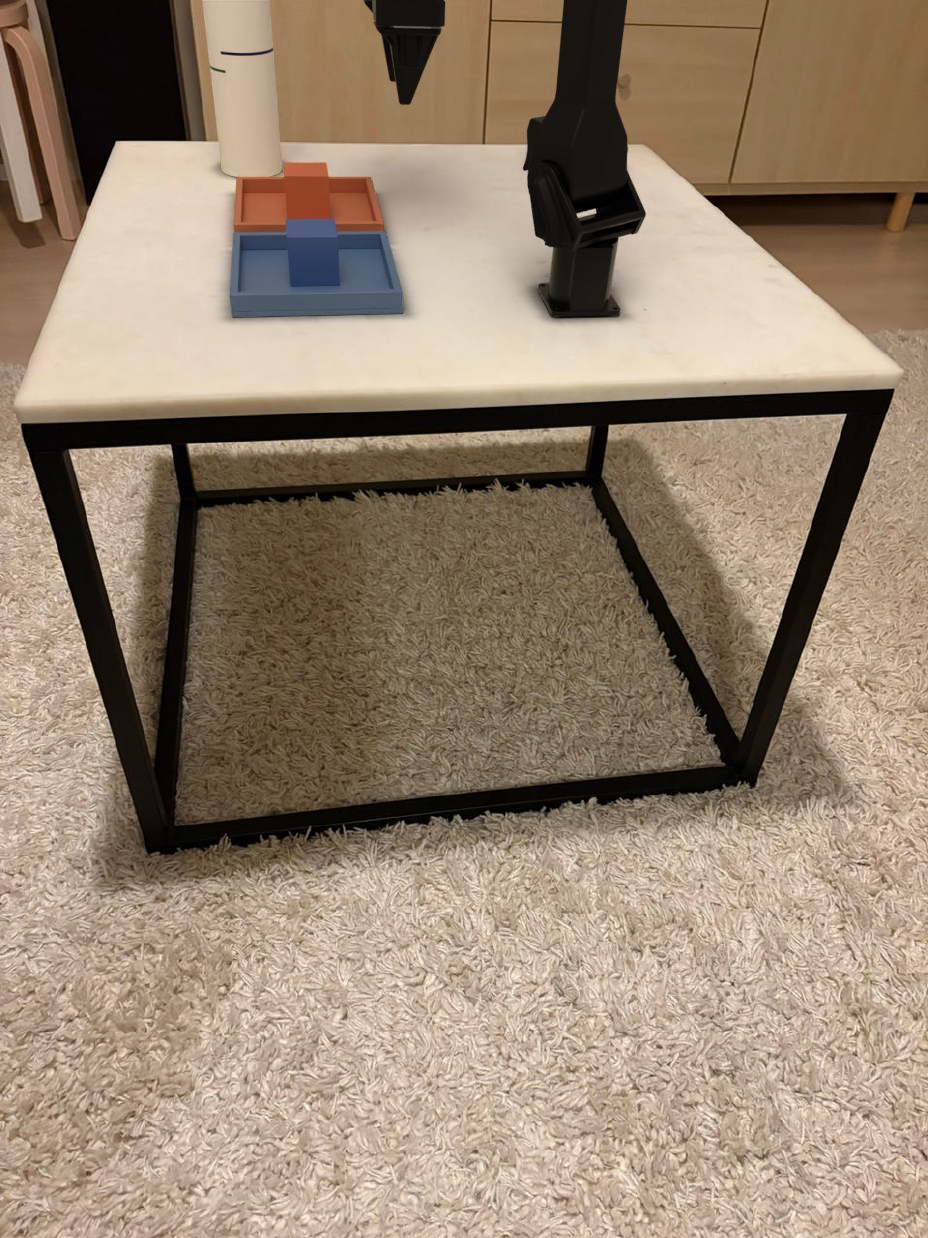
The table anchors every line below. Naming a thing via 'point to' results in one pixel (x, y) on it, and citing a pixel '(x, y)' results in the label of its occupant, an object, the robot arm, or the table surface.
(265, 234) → the blue tray
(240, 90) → the cylindrical container
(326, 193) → the clay block
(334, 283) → the blue block
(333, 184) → the clay tray
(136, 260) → the table surface
